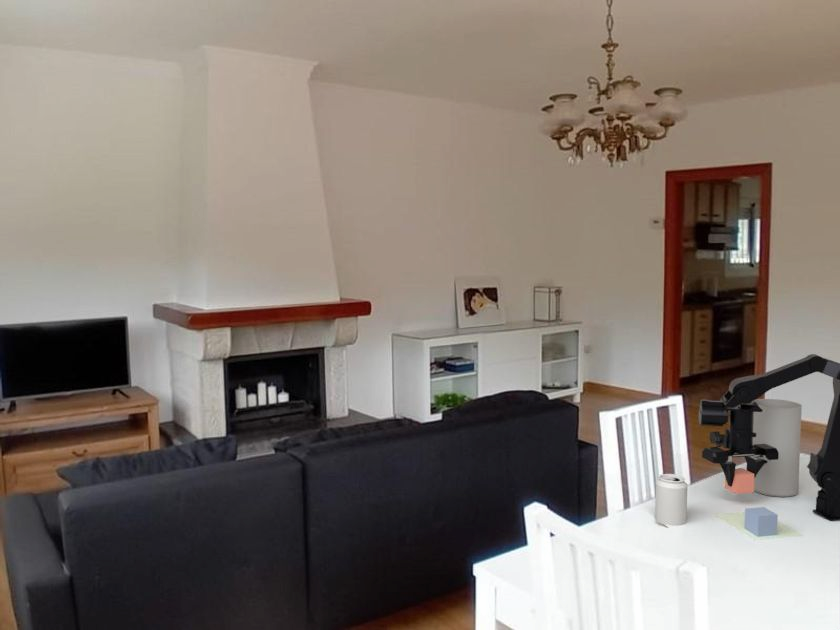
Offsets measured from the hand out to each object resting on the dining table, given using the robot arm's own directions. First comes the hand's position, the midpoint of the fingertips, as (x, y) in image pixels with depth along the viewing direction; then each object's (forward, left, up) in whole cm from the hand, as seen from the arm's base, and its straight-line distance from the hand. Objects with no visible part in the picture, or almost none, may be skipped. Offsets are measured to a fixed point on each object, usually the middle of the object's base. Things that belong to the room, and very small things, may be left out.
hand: (739, 485), depth 184 cm
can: (+23, +6, -6) cm, 24 cm away
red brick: (0, 0, -1) cm, 1 cm away
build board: (+4, +13, -6) cm, 15 cm away
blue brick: (+6, +17, -5) cm, 19 cm away
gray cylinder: (-18, -11, -6) cm, 22 cm away
